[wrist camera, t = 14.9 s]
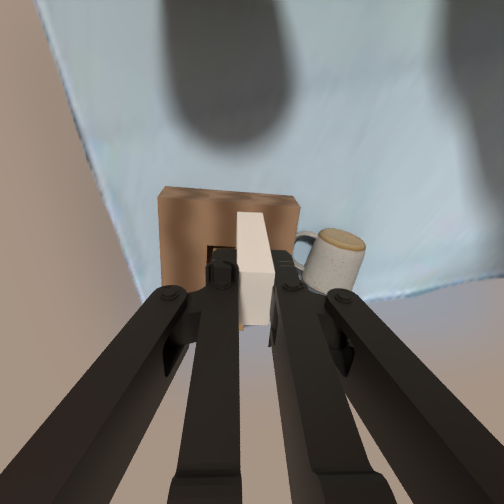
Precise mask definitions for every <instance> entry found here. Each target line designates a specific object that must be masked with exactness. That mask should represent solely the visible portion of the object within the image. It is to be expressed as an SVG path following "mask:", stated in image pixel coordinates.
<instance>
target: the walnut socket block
mask: <svg viewBox="0 0 504 504" xmlns="http://www.w3.org/2000/svg"><path fill="white" fill-rule="evenodd" d="M300 208H301V207H300V206H299V204H298V203H297V201H296V200H295V198H294V197H293V196H286V195H273V194H260V193H247V192H233V191H220V190H207V189H194V188H181V187H168V186H165V187H164V189H163V190H162V192H161V193H160V194H159V196H158V218H159V238H160V259H161V279H162V286H166V285H178V286H181V287H183V288H184V289H185V290H186V292H187V293H189V292H194V291H197V290H200V289H202V288H203V287H205V285H206V276H205V267H206V265H207V264H208V263H209V262H211V258H212V253H213V246H228V247H236V229H237V212H255V213H263V217H264V222H265V227H266V232H267V236H268V241H269V246H270V250H286V251H287V252H288V253H290V254H291V255H292V252H293V247H294V241H295V236H296V230H297V225H298V219H299V214H300Z"/></svg>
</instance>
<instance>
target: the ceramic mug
mask: <svg viewBox="0 0 504 504" xmlns="http://www.w3.org/2000/svg"><path fill="white" fill-rule="evenodd" d="M300 236H310V237H314V238H315V241H314V243H313V246H312V248H311V252H310V254H309V256H308V259H307V261H306V264H305V266H303V265H302V264H300V263H298V262H297V261H296V260H295V259H294V258H293V257H292V258H293V262H294V264H295V267H297V268H298V269H300V270H302V271H303V272H302V278H303V280H304V282H305V283H306V284H308V285H309V286H310V287H312V288H313V289H315V290H316V291H319V292H321V293H324V294H326V295H327V292H328V291H329V290H331V289H334V288H343V289H347V290H350V291H352V288H353V285H354V283H355V280H356V277H357V275H358V272H359V269H360V266H361V264H362V261H363V259H364V255H365V249H366V245H365V243H364V242H363V240H361V239H360V238H359V237H357V236H355V235H353V234H351V233H348V232H346V231H342V230H338V229H330V228H328V229H324V230H321V231H320V232H319V233H318V234H316V233H314V232H309V231H302V232H298V233H296V236H295V241H297V238H298V237H300ZM295 241H294V242H295Z"/></svg>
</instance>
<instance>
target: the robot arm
mask: <svg viewBox="0 0 504 504" xmlns="http://www.w3.org/2000/svg"><path fill="white" fill-rule="evenodd" d="M205 276H206V285H205V287H203V288H202V289H200V290H197V291H194V292H189V293H187V292H186V290H185V289H184V288H183V287H181V286H178V285H166V286H162V287H160V288H157V289H156V290H155V291H154V292H153V293H152V294H151V295H150V296H149V297H148V299H147V300H146V301H145V302H144V303H143V305H142V306H141V307H140V308H139V309H138V311H137V312H136V313H135V314H134V315H133V317H132V318H131V319H130V320H129V321H128V322H127V324H126V325H125V326H124V327H123V328H122V330H121V331H120V332H119V333H118V334H117V336H116V337H115V338H114V339H113V340H112V342H111V343H110V344H109V345H108V346H107V348H106V349H105V350H104V351H103V352H102V353H101V355H100V356H99V357H98V358H97V359H96V361H95V362H94V363H93V364H92V365H91V367H90V368H89V369H88V370H87V371H86V373H85V374H84V375H83V376H82V377H81V379H80V380H79V381H78V382H77V383H76V385H75V386H74V387H73V388H72V389H71V390H70V392H69V393H68V394H67V396H65V398H64V399H63V400H62V401H61V403H60V404H59V405H58V406H57V407H56V409H55V410H54V411H53V412H52V413H51V415H50V416H49V417H48V418H47V419H46V420H45V422H44V423H43V424H42V425H41V426H40V428H39V429H38V430H37V431H36V432H35V433H34V435H33V436H32V437H31V438H30V440H29V441H28V442H27V443H26V444H25V446H24V447H23V448H22V449H21V450H20V451H19V453H18V454H17V455H16V456H15V458H14V459H13V460H12V461H11V462H10V463H9V464H8V466H7V467H6V468H5V469H4V470H3V472H2V473H1V474H0V504H109V503H110V501H111V499H112V497H113V495H114V493H115V491H116V489H117V487H118V485H119V483H120V481H121V479H122V477H123V475H124V474H125V472H126V470H127V468H128V466H129V464H130V462H131V460H132V458H133V456H134V454H135V452H136V450H137V448H138V446H139V444H140V442H141V440H142V438H143V436H144V434H145V432H146V430H147V428H148V427H149V424H150V423H151V421H152V419H153V417H154V415H155V412H156V411H157V409H158V407H159V405H160V403H161V401H162V399H163V397H164V395H165V393H166V391H167V389H168V387H169V385H170V383H171V382H172V380H173V378H174V376H175V374H176V371H177V370H178V368H179V366H180V364H181V362H182V360H183V358H184V356H185V354H186V352H187V350H188V348H189V344H190V343H193V342H197V343H196V349H195V356H194V362H193V369H192V375H191V381H190V387H189V395H188V400H187V407H186V413H185V419H184V426H183V433H182V439H181V445H180V452H179V458H178V464H177V469H176V474H175V476H174V477H173V478H172V482H171V485H170V489H169V495H168V500H167V504H242V479H241V473H240V472H241V471H240V403H239V402H240V400H239V398H240V397H239V325H269V321H271V329H270V337H269V345H268V347H271V346H272V353H273V361H274V369H275V377H276V384H277V392H278V399H279V407H280V415H281V422H282V430H283V438H284V446H285V453H286V461H287V469H288V476H289V484H290V491H291V499H292V504H397V502H396V500H395V497H394V495H393V492H392V490H391V488H390V486H389V484H388V482H387V480H386V479H385V478H384V477H383V475H382V474H380V473H378V472H376V471H374V470H373V469H372V467H371V465H370V463H369V461H368V458H367V455H366V452H365V449H364V447H363V444H362V441H361V438H360V435H359V432H358V429H357V427H356V424H355V421H354V418H353V415H352V412H351V409H350V407H349V404H348V401H347V398H346V395H347V397H348V399H349V400H350V402H351V403H352V405H353V407H354V408H355V410H356V412H357V413H358V415H359V416H360V418H361V419H362V421H363V423H364V425H365V426H366V428H367V429H368V431H369V433H370V434H371V436H372V437H373V439H374V441H375V442H376V444H377V445H378V447H379V449H380V450H381V452H382V454H383V455H384V457H385V458H386V460H387V462H388V463H389V465H390V466H391V468H392V470H393V471H394V473H395V475H396V476H397V477H398V479H399V481H400V483H401V484H402V486H403V487H404V489H405V491H406V492H407V494H408V495H409V497H410V498H411V500H412V502H413V504H504V446H503V445H502V444H501V443H500V442H499V441H498V440H497V439H496V438H495V437H494V436H493V435H492V434H491V433H490V432H489V431H488V430H487V429H486V428H485V427H484V426H483V424H481V422H480V421H478V420H477V418H476V417H475V416H474V415H473V414H472V413H471V412H470V411H469V410H468V409H467V408H466V407H465V406H464V405H463V404H462V403H461V402H460V401H459V400H458V399H457V398H456V397H455V396H454V395H453V394H452V392H451V391H450V390H449V389H447V387H446V386H445V385H444V384H443V383H442V382H441V381H440V380H439V379H438V378H437V377H436V376H435V375H434V374H433V373H432V372H431V371H430V370H429V369H428V368H427V367H426V366H425V365H424V363H422V361H420V359H419V358H417V356H416V355H415V354H414V353H413V352H412V351H411V350H410V349H409V348H408V347H407V346H406V345H405V344H404V343H403V342H402V341H401V340H400V339H399V338H398V337H397V336H396V335H395V334H394V333H393V331H392V330H391V329H390V328H389V327H388V326H387V325H386V324H385V323H384V322H383V321H382V320H381V319H380V318H379V317H378V316H377V315H376V314H375V313H374V312H373V311H372V310H371V309H370V308H369V307H368V306H367V305H366V303H365V302H364V301H363V300H362V299H361V298H360V297H359V296H358V295H356V294H355V293H354V292H352V291H350V290H347V289H343V288H334V289H331V290H329V291H328V292H327V296H325V295H320V294H316V293H313V292H311V291H309V290H308V287H307V286H306V284H305V283H304V282H302V281H301V280H300V279H299V276H298V273H297V270H296V267H295V264H294V262H293V258H292V255H291V254H290V253H288V252H287V251H286V250H270V246H269V241H268V236H267V232H266V227H265V222H264V217H263V213H255V212H237V229H236V249H216V250H215V251H214V252H213V253H212V258H211V262H209V263H208V264H207V265H206V267H205ZM345 394H346V395H345Z"/></svg>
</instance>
